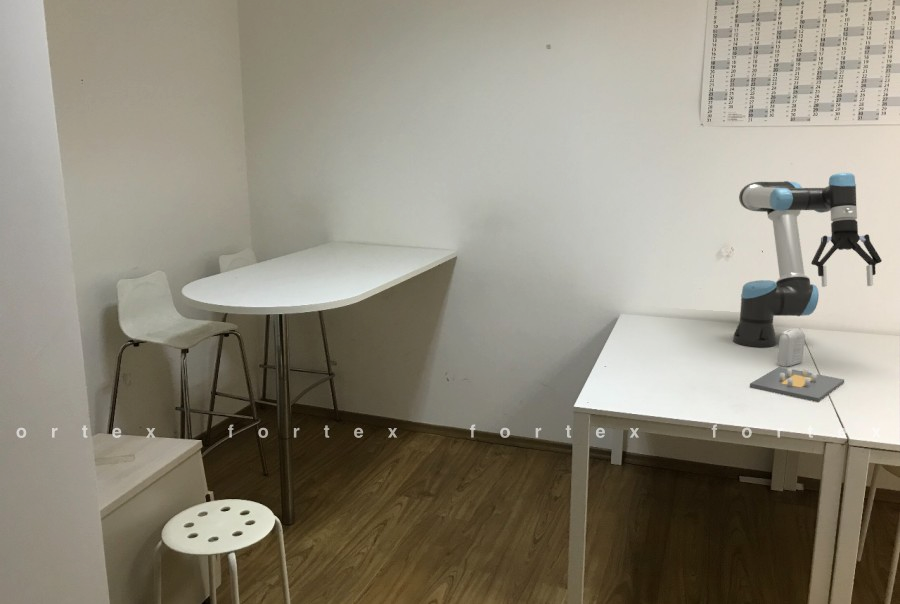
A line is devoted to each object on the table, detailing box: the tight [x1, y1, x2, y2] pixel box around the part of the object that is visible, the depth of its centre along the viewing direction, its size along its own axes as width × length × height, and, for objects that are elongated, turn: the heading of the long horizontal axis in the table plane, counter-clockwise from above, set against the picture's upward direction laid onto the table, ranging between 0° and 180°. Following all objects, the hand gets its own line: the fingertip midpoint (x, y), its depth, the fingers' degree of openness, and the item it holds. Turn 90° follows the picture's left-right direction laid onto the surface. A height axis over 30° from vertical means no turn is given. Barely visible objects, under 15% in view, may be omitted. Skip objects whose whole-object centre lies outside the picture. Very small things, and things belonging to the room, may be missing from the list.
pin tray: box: [749, 366, 845, 403], centre depth 228 cm, size 20×24×4 cm
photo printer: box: [776, 327, 806, 368], centre depth 249 cm, size 10×4×12 cm, turn 123°
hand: (847, 286), depth 235 cm, fingers open, 13 cm apart
